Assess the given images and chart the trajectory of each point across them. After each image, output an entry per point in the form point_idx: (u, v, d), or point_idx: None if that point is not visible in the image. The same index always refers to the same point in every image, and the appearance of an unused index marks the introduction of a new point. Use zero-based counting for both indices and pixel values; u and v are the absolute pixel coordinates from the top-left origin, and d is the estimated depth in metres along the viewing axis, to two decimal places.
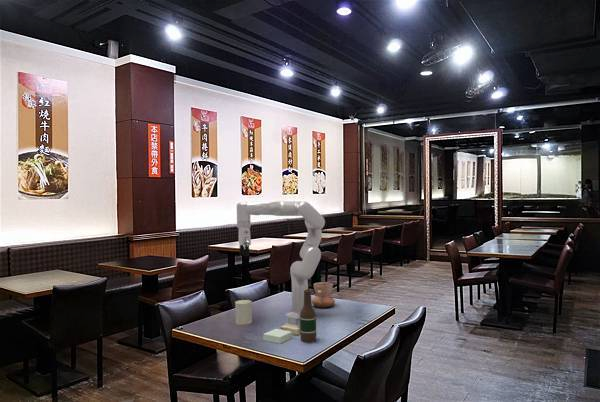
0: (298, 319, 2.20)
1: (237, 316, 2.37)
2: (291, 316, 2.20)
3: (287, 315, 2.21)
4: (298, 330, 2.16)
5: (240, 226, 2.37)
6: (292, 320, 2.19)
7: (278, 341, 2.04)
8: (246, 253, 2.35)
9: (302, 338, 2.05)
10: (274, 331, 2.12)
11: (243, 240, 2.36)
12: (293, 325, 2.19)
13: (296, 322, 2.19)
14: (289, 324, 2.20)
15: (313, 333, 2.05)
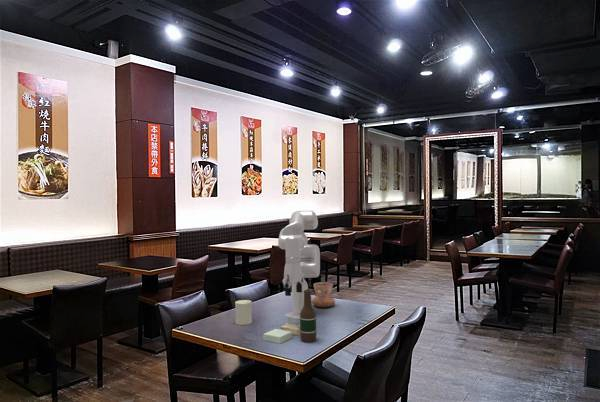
0: (298, 319, 2.20)
1: (237, 316, 2.37)
2: (291, 316, 2.20)
3: (287, 315, 2.21)
4: (298, 330, 2.16)
5: None
6: (292, 320, 2.19)
7: (278, 341, 2.04)
8: None
9: (302, 338, 2.05)
10: (274, 331, 2.12)
11: None
12: (293, 325, 2.19)
13: (296, 322, 2.19)
14: (289, 324, 2.20)
15: (313, 333, 2.05)
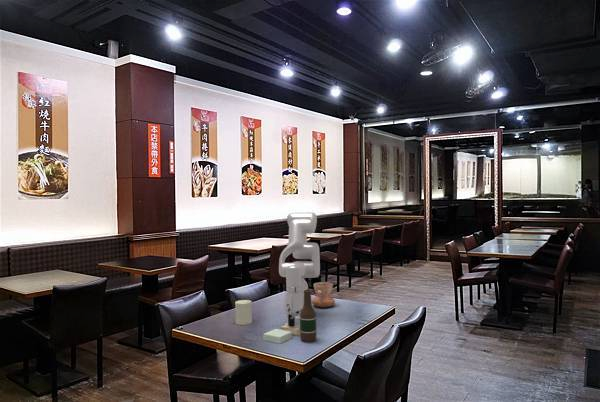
0: (298, 319, 2.20)
1: (237, 316, 2.37)
2: None
3: None
4: (298, 330, 2.16)
5: None
6: None
7: (278, 341, 2.04)
8: None
9: (302, 338, 2.05)
10: (274, 331, 2.12)
11: None
12: None
13: (296, 322, 2.19)
14: None
15: (313, 333, 2.05)
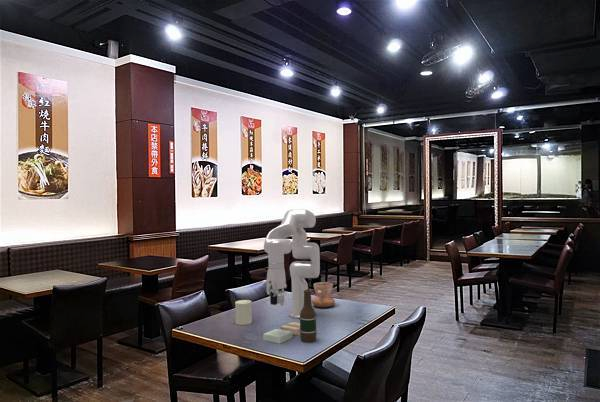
0: (281, 297, 2.09)
1: (237, 316, 2.37)
2: None
3: None
4: (298, 330, 2.16)
5: None
6: None
7: (278, 341, 2.04)
8: None
9: (302, 338, 2.05)
10: (274, 331, 2.12)
11: None
12: None
13: (278, 300, 2.07)
14: None
15: (313, 333, 2.05)
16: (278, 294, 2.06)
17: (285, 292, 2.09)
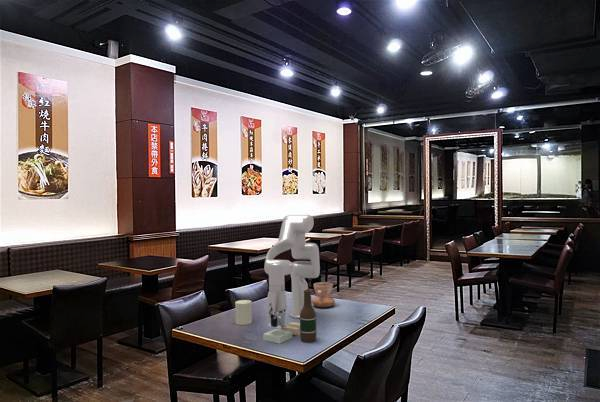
0: (281, 319, 2.09)
1: (237, 316, 2.37)
2: None
3: None
4: (298, 330, 2.16)
5: None
6: None
7: (278, 341, 2.04)
8: None
9: (302, 338, 2.05)
10: (274, 331, 2.12)
11: None
12: None
13: (279, 322, 2.07)
14: None
15: (313, 333, 2.05)
16: (278, 316, 2.06)
17: (285, 314, 2.09)
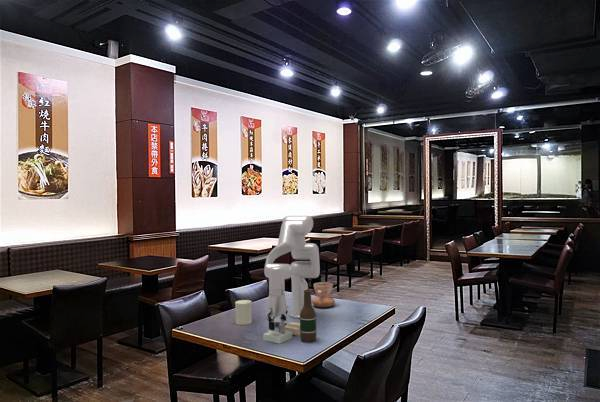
0: (282, 326, 2.09)
1: (237, 316, 2.37)
2: None
3: None
4: (298, 330, 2.16)
5: None
6: (275, 327, 2.08)
7: (278, 341, 2.04)
8: None
9: (302, 338, 2.05)
10: None
11: None
12: (276, 332, 2.08)
13: (279, 329, 2.07)
14: (272, 331, 2.09)
15: (313, 333, 2.05)
16: (279, 323, 2.07)
17: (286, 321, 2.09)
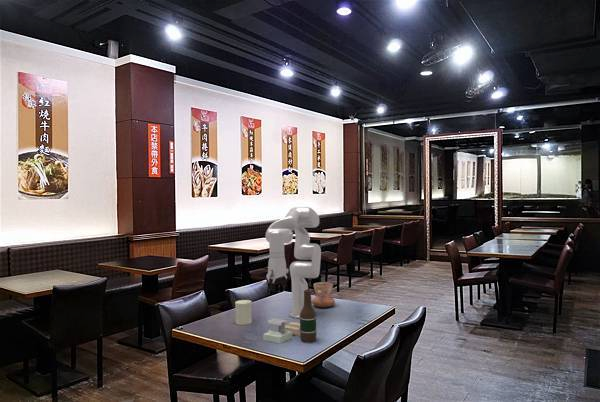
0: (282, 326, 2.09)
1: (237, 316, 2.37)
2: (274, 323, 2.08)
3: (270, 322, 2.10)
4: (298, 330, 2.16)
5: None
6: (275, 327, 2.08)
7: (278, 341, 2.04)
8: None
9: (302, 338, 2.05)
10: None
11: None
12: (276, 332, 2.08)
13: (279, 329, 2.07)
14: (272, 331, 2.09)
15: (313, 333, 2.05)
16: (279, 323, 2.07)
17: (286, 321, 2.09)
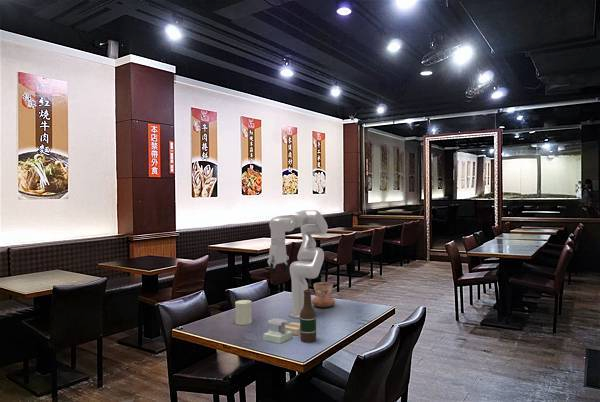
0: (282, 326, 2.09)
1: (237, 316, 2.37)
2: (274, 323, 2.08)
3: (270, 322, 2.10)
4: (298, 330, 2.16)
5: None
6: (275, 327, 2.08)
7: (278, 341, 2.04)
8: None
9: (302, 338, 2.05)
10: None
11: None
12: (276, 332, 2.08)
13: (279, 329, 2.07)
14: (272, 331, 2.09)
15: (313, 333, 2.05)
16: (279, 323, 2.07)
17: (286, 321, 2.09)
